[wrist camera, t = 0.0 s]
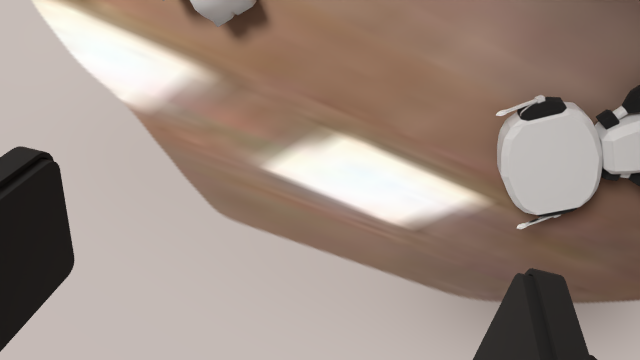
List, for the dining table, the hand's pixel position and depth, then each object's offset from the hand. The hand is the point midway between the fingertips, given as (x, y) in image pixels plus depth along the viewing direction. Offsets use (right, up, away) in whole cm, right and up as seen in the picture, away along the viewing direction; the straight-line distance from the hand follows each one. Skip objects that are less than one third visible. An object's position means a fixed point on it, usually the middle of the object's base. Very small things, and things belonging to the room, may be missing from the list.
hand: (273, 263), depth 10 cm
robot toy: (+25, +6, +35) cm, 44 cm away
